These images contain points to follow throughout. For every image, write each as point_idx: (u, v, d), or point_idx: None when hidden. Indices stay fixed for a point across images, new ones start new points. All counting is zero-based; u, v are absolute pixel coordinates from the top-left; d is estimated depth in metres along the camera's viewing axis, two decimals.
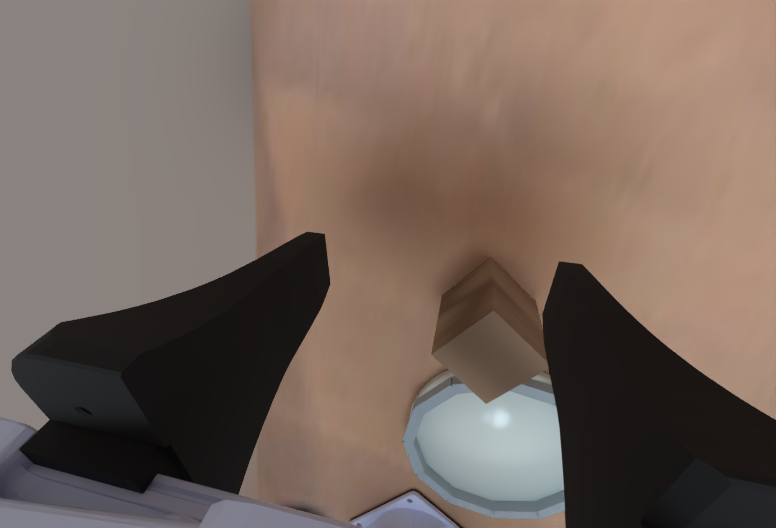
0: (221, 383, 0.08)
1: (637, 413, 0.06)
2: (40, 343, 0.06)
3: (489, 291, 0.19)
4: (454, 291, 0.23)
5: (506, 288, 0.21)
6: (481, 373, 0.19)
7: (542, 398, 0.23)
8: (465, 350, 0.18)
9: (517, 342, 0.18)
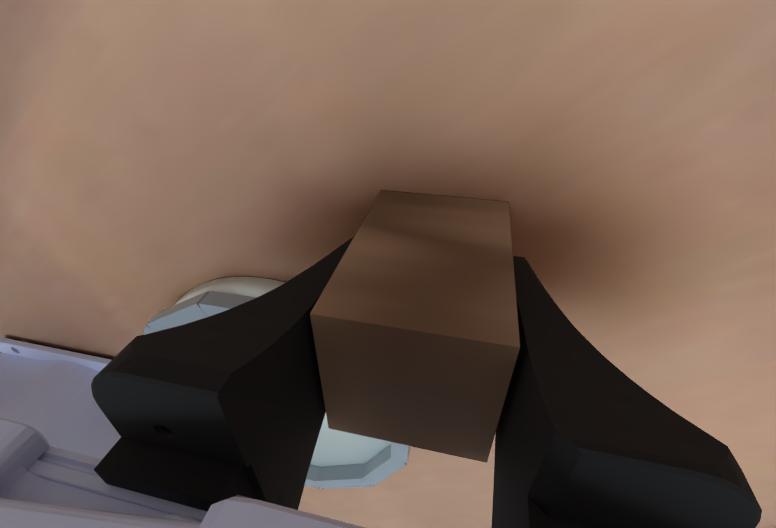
0: (290, 398, 0.07)
1: (533, 394, 0.06)
2: (125, 360, 0.06)
3: (505, 277, 0.08)
4: (411, 204, 0.11)
5: None
6: (368, 398, 0.09)
7: None
8: (383, 356, 0.08)
9: (485, 409, 0.08)
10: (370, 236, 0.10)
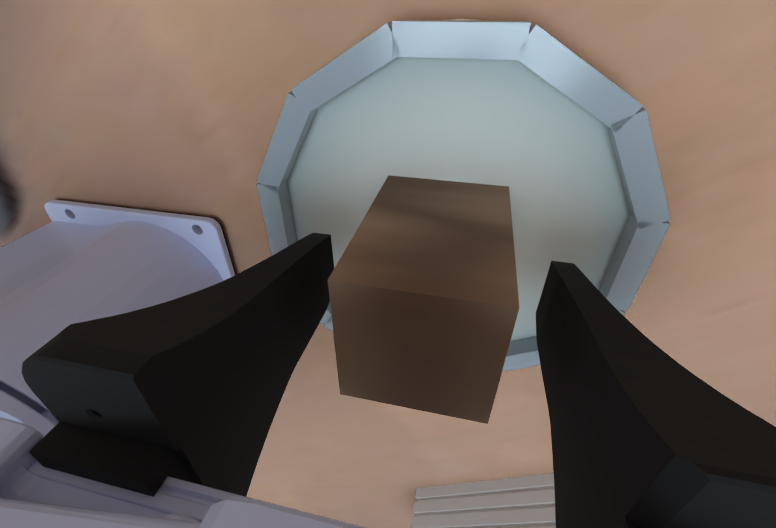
0: (230, 385, 0.08)
1: (622, 410, 0.06)
2: (51, 345, 0.06)
3: (506, 251, 0.09)
4: (418, 188, 0.12)
5: None
6: (379, 362, 0.09)
7: (639, 196, 0.11)
8: (393, 320, 0.08)
9: (487, 370, 0.09)
10: (380, 215, 0.11)
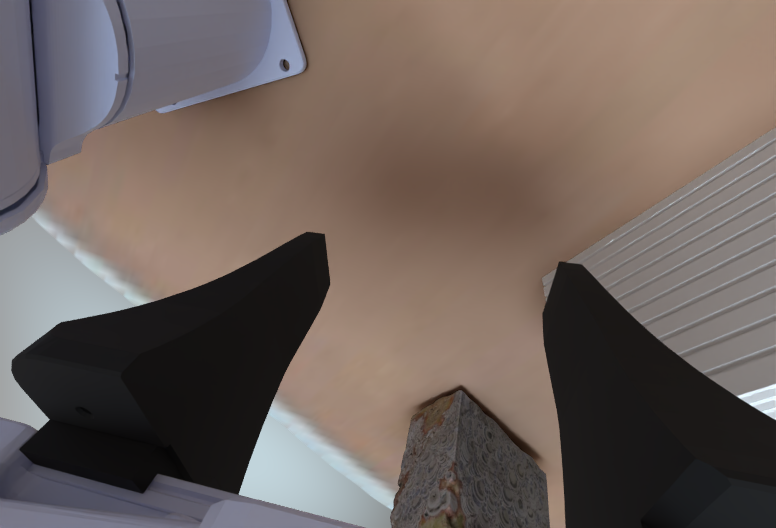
0: (221, 383, 0.08)
1: (637, 413, 0.06)
2: (40, 343, 0.06)
3: None
4: None
5: None
6: None
7: None
8: None
9: None
10: None
